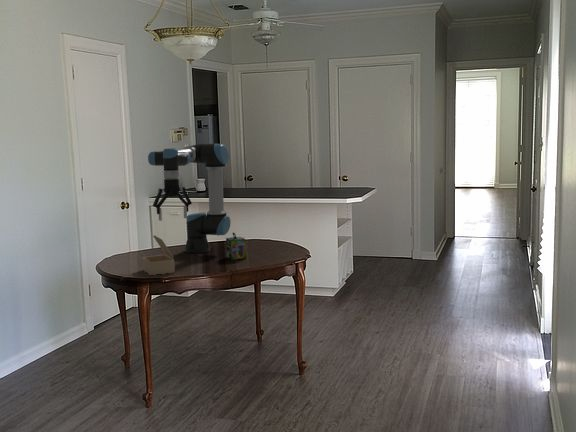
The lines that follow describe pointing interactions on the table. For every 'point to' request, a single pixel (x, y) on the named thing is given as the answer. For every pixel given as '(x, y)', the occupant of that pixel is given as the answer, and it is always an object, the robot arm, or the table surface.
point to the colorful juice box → (236, 247)
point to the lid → (163, 246)
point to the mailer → (158, 264)
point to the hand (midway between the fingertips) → (173, 219)
